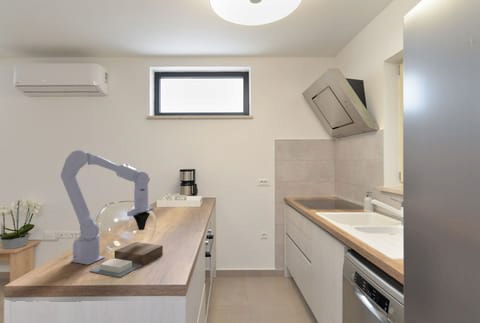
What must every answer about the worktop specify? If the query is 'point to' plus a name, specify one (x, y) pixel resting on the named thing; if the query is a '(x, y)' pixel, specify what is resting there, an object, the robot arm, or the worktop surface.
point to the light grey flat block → (116, 265)
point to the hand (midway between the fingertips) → (141, 229)
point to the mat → (97, 270)
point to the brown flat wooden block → (139, 253)
